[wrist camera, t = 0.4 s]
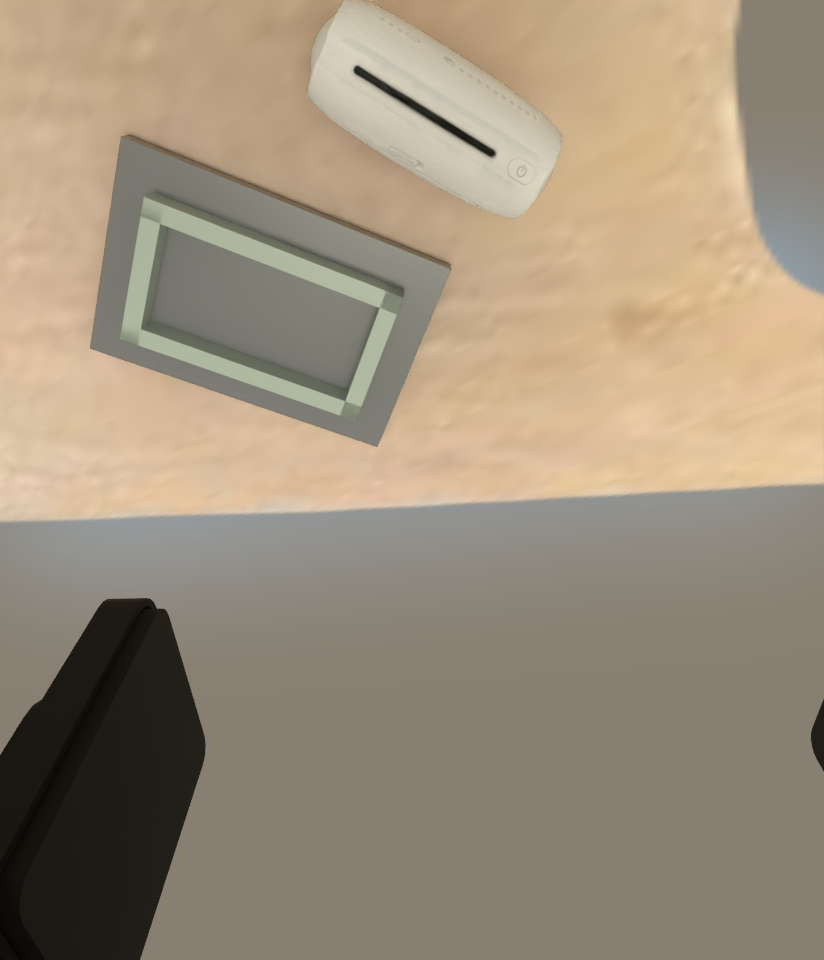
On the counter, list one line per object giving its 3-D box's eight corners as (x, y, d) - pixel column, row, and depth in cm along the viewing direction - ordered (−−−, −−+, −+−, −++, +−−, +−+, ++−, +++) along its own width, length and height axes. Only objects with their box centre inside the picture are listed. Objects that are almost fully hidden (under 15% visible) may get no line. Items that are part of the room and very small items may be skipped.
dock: (96, 342, 41) (79, 357, 39) (128, 134, 35) (109, 139, 33) (378, 439, 44) (376, 458, 42) (450, 264, 38) (452, 276, 36)
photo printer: (540, 115, 34) (594, 138, 24) (495, 195, 36) (526, 249, 26) (358, -4, 32) (327, -37, 21) (319, 89, 34) (275, 101, 23)
